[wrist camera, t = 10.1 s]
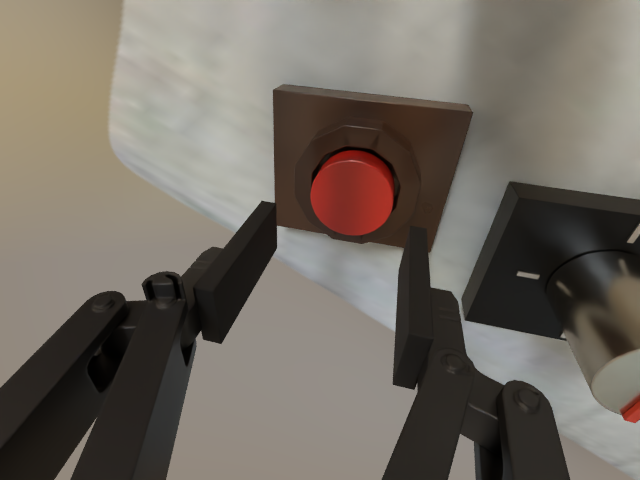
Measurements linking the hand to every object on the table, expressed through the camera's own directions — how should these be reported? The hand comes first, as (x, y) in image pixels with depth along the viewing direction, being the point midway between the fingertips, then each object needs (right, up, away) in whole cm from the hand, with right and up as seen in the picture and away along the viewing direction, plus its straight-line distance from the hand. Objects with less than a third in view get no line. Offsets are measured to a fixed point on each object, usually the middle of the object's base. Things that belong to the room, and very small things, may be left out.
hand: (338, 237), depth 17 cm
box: (+2, +5, +8) cm, 10 cm away
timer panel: (+18, -2, +8) cm, 20 cm away
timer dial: (+18, -3, +6) cm, 19 cm away
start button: (+1, +3, +5) cm, 6 cm away
